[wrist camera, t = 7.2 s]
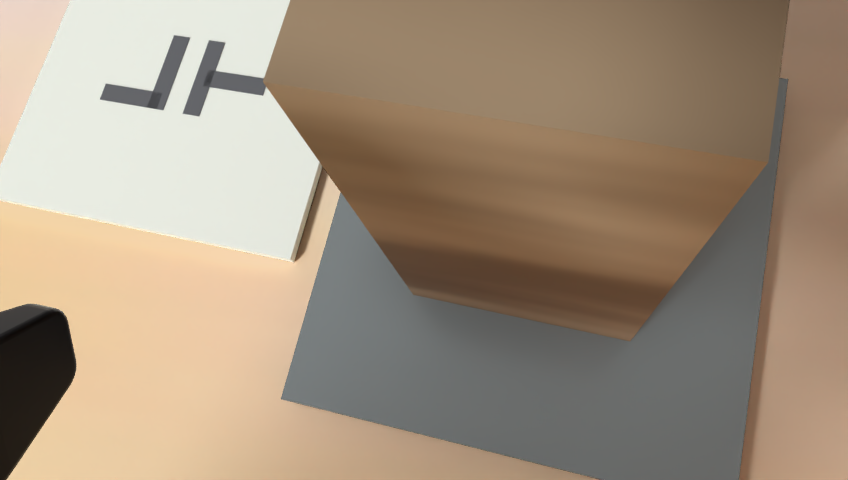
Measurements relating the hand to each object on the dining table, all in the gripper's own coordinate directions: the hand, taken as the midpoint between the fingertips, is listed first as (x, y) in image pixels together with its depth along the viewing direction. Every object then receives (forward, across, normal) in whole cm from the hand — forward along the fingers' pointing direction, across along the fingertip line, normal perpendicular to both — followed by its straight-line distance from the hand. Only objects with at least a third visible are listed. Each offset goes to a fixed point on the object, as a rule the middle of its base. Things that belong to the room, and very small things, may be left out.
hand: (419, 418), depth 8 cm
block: (+9, 0, +2) cm, 10 cm away
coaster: (+10, -1, +3) cm, 10 cm away
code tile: (+12, +10, +1) cm, 15 cm away
